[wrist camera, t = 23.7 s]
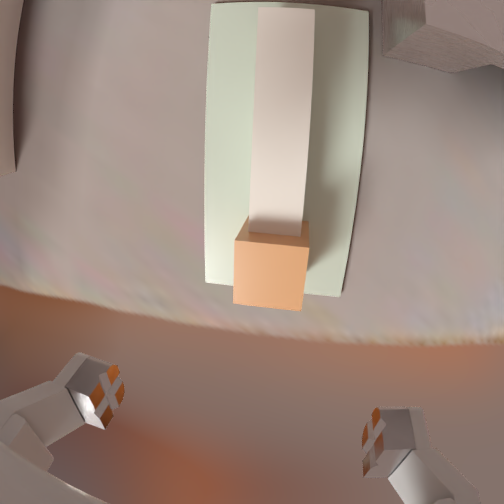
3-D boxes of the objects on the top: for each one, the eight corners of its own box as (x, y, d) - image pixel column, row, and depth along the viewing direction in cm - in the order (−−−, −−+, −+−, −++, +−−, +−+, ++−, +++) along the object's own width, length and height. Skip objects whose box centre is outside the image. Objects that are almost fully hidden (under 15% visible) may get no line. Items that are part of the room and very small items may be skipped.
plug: (321, 25, 15) (325, 1, 11) (302, 275, 22) (300, 311, 18) (256, 22, 16) (244, -2, 12) (246, 269, 23) (233, 303, 19)
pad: (367, 13, 15) (368, 11, 14) (339, 294, 23) (339, 297, 23) (213, 5, 16) (211, 4, 16) (207, 279, 24) (205, 282, 24)
